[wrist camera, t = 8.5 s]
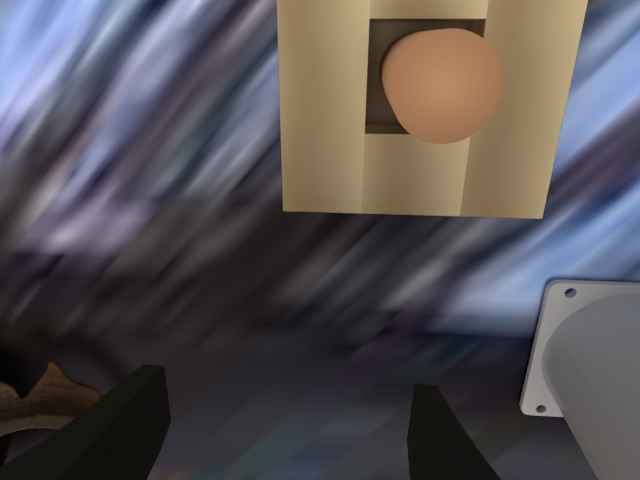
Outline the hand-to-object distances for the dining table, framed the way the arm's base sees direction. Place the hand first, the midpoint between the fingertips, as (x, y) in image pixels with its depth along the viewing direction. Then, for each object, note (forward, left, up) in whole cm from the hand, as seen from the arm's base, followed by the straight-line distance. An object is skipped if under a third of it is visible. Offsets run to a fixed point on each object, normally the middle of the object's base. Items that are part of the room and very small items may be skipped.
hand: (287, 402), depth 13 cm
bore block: (-4, -8, -10) cm, 14 cm away
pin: (-4, -8, -9) cm, 13 cm away
